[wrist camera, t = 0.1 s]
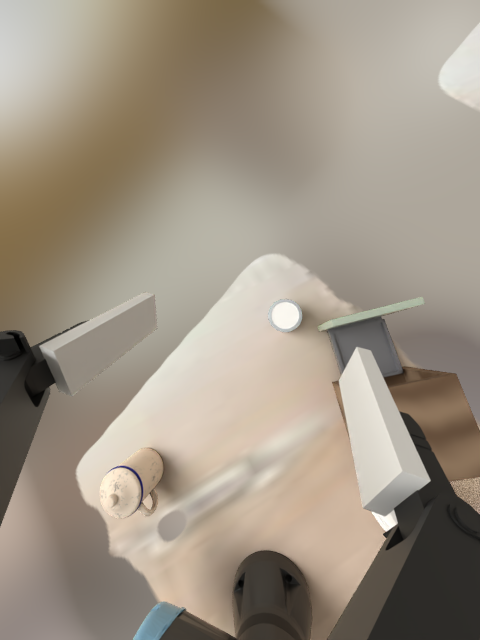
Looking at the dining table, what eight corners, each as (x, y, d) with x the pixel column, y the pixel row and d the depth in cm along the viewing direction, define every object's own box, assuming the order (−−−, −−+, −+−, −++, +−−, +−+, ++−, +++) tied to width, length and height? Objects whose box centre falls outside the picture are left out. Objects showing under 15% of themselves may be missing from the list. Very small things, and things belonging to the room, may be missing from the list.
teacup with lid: (122, 464, 50) (78, 498, 38) (149, 437, 50) (112, 464, 38) (152, 508, 47) (114, 558, 36) (180, 480, 47) (151, 522, 36)
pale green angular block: (317, 326, 46) (331, 319, 35) (385, 309, 44) (422, 296, 34) (335, 385, 44) (356, 398, 33) (408, 370, 42) (455, 377, 31)
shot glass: (280, 340, 48) (281, 339, 41) (262, 317, 49) (261, 312, 43) (304, 322, 48) (309, 318, 41) (285, 299, 49) (288, 291, 42)
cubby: (332, 382, 45) (354, 394, 33) (404, 366, 43) (456, 373, 31) (353, 450, 43) (385, 491, 31) (430, 436, 41) (497, 474, 29)
